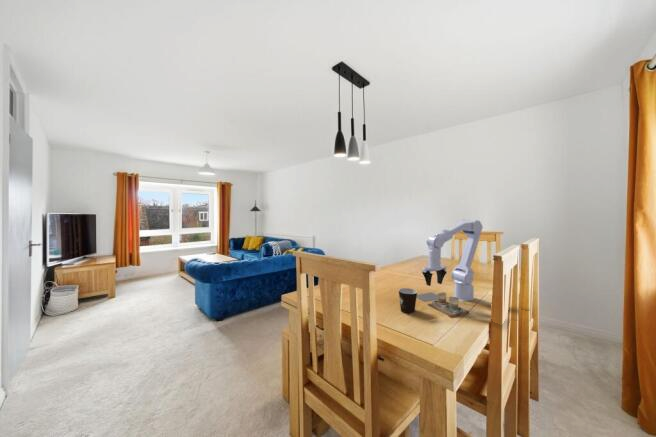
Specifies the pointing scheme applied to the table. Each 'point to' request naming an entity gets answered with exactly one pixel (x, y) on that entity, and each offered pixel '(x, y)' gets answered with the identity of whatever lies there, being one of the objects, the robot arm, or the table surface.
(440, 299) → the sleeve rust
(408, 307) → the coffee mug
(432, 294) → the mat
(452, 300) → the cream teal cylinder
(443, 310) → the brown compartment tray
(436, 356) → the table surface
